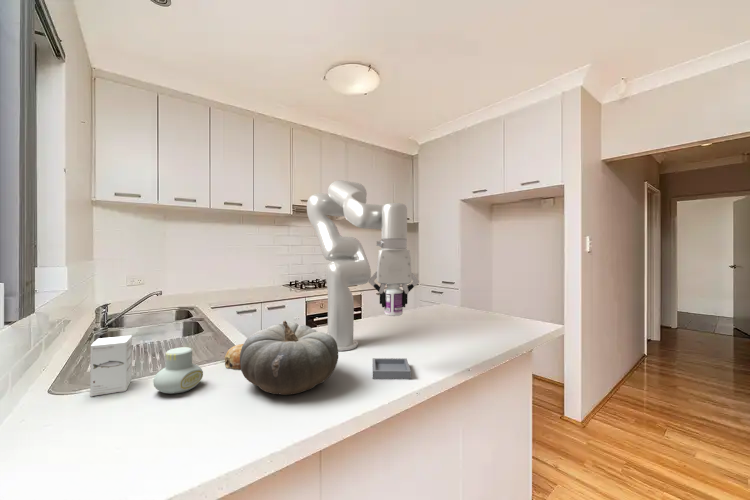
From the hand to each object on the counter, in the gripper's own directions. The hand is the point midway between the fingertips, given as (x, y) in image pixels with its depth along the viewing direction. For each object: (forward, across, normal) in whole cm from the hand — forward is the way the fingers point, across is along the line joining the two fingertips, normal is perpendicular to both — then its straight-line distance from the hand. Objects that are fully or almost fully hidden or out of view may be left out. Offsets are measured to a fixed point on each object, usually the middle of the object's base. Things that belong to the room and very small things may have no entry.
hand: (393, 305), depth 98 cm
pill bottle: (+3, 0, 0) cm, 3 cm away
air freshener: (+20, -56, -11) cm, 60 cm away
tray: (+19, -1, -1) cm, 19 cm away
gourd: (+20, -28, -8) cm, 35 cm away
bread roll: (+20, -46, +7) cm, 51 cm away
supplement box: (+20, -73, -11) cm, 76 cm away
